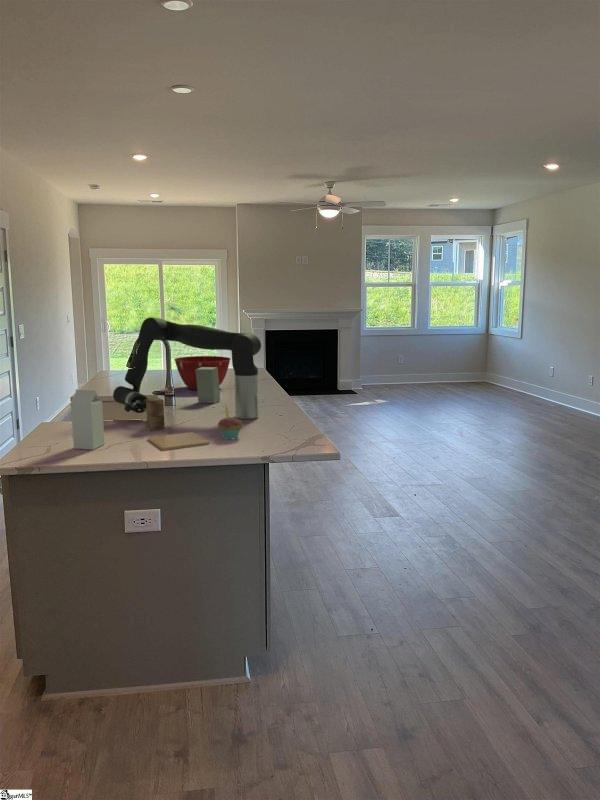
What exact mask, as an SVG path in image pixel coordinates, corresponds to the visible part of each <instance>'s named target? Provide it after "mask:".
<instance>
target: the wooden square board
mask: <svg viewBox="0 0 600 800" xmlns="http://www.w3.org/2000/svg"><path fill="white" fill-rule="evenodd" d="M147 441H149V442H150V443H152V444H153V445H154V446H155V447H157V448H159V449H160V450H161V451H169V450H175V449H184V448H189V447H190V448H191V447H199V446H205V445H206V446H207V445H210V441H209V440H207V439H205V438H204V437H202V436H200V435H198V434H196V433H195V432H194V431H193V432H192V431H189V432H183V433H182V432H181V433H175V434H166V435H158V436H151V437H150V436H149V437H147Z"/></svg>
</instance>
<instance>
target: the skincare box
mask: <svg viewBox="0 0 600 800" xmlns="http://www.w3.org/2000/svg"><path fill="white" fill-rule="evenodd" d="M196 379H197V390H196V391H197V401H198V402H197V403H199V404H216V403H218V402H220V401H221V394H220V393H221V392H220V386H219V379H218V367H201V368H198V369H196Z"/></svg>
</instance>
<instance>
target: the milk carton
mask: <svg viewBox="0 0 600 800" xmlns="http://www.w3.org/2000/svg"><path fill="white" fill-rule="evenodd" d="M70 414H71V428H72V440H73V441H72V442H73V449H74V450H75V449H76V450H96V449H98V448H100V447H102V446H103V445H105V427H104V413H103V401H102V399H101V398H100V396H99V395H98V394H97V390H96V389H75V393H74V395H73V397H72V400H71V402H70Z"/></svg>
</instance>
